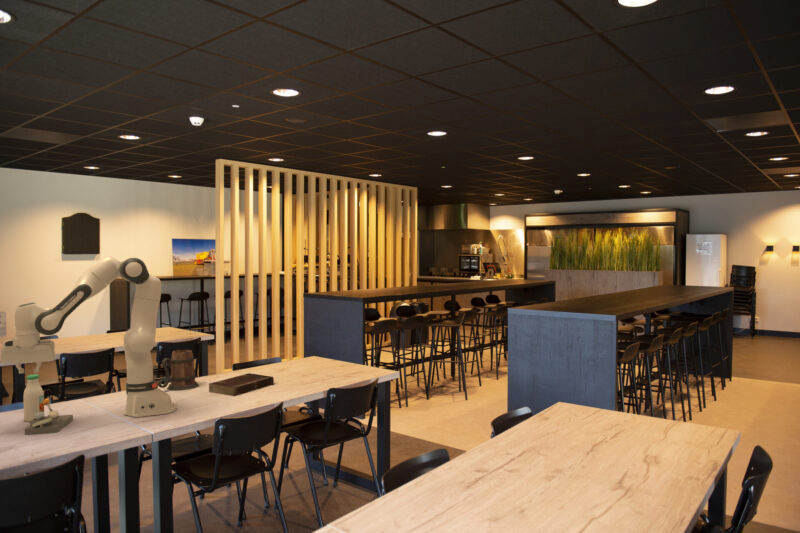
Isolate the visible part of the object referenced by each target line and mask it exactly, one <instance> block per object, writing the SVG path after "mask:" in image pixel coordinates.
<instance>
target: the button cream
mask: <svg viewBox="0 0 800 533" xmlns="http://www.w3.org/2000/svg"><path fill="white" fill-rule="evenodd" d="M58 413H59V411H58V410H53V411H50V410H49V412H48V415H49V418H57V417H58Z"/></svg>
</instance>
